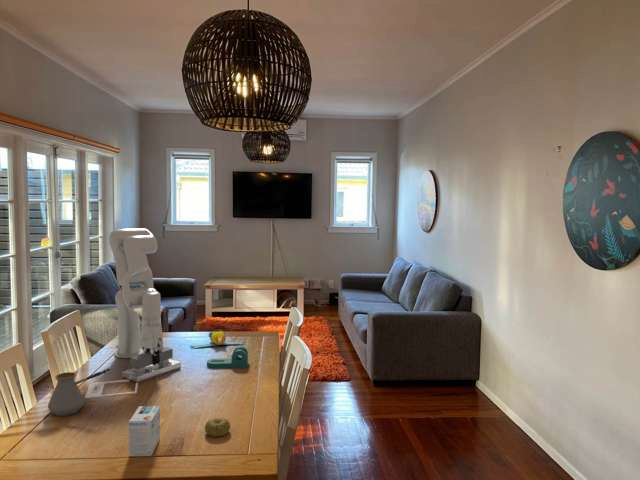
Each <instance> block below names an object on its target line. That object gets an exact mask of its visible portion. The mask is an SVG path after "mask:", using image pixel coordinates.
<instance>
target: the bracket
mask: <svg viewBox="0 0 640 480" xmlns="http://www.w3.org/2000/svg"><path fill="white" fill-rule="evenodd" d="M231 354H232V355H231V358H230V357H229V358H210V359H207V360H206V367H207V368H208V369H239V368H240V369H244V368H246V369H247V368H248V363H249V352H248V349H247V348H246V347H244V346H241V345H240V346H237V347H235V348H234V349H233V352H232V353H231Z"/></svg>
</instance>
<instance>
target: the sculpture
mask: <svg viewBox="0 0 640 480" xmlns="http://www.w3.org/2000/svg"><path fill="white" fill-rule="evenodd" d="M230 429H231V424H230V422H229V420H228V419H226V418H224V417H214V418H213V417H212V418H211V419H209V420H208V421H207V422H206V423H205V424H204V432H205V433H206V434H207V435H208V436H210V437H213V438H216V437H222V436H225V435H226V434H228V433H229V431H230Z"/></svg>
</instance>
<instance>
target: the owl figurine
mask: <svg viewBox="0 0 640 480" xmlns="http://www.w3.org/2000/svg"><path fill="white" fill-rule="evenodd" d="M208 337H209V338H210V341H211V343H205V344H197V345H194V344H193V345H190V349H191V350H195V349H199V348H207V347H213V346H214V347H215V346H228V345H247V342H246V341H244V340H241V341H230V342H229V341H226V339H227V336H226V333H225V331H224V330H223V329H220V328H218V329H217V328H216V329H213V330H212V332H211V331H210V332H209V333H208ZM225 341H226V342H225Z"/></svg>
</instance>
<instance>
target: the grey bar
mask: <svg viewBox="0 0 640 480" xmlns="http://www.w3.org/2000/svg"><path fill="white" fill-rule="evenodd" d="M163 347H164V350H163V351H162V352H161V354H160V363H159V365H162V366H163V365H166V364H169V359H173V353H174V352H173V348H171V347H167V346H163ZM156 351H157V349H156ZM153 356H154V355H153V350H151V351H150V352H147V353H144V352H143V354H141V355H137V356H134V357H131V358H129V366H130V369H132V368H135V373H138V374H140V373H143V372H145V367H146V366H149V365H152V364H153Z"/></svg>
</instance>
